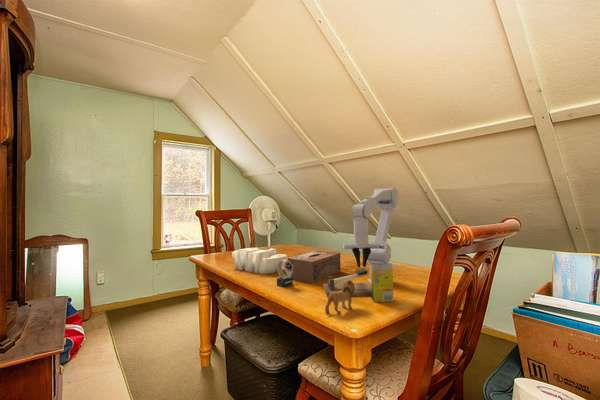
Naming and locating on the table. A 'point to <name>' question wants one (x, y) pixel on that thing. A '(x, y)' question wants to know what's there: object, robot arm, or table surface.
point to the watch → (283, 280)
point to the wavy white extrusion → (257, 260)
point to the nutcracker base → (359, 289)
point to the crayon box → (382, 286)
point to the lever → (351, 276)
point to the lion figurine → (341, 296)
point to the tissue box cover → (315, 265)
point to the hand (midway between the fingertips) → (361, 266)
